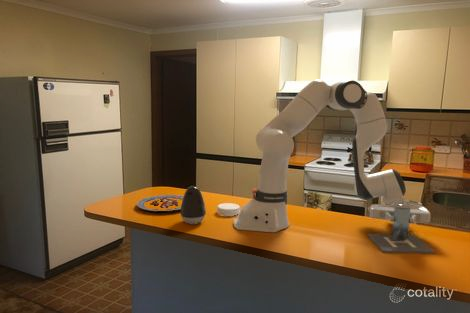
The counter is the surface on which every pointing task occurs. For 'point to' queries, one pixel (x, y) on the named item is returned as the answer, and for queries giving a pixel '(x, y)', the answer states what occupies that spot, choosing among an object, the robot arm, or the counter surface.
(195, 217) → the black rounded cylinder
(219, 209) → the coaster
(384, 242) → the letter board
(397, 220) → the canister
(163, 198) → the ceramic plate
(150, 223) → the counter surface
